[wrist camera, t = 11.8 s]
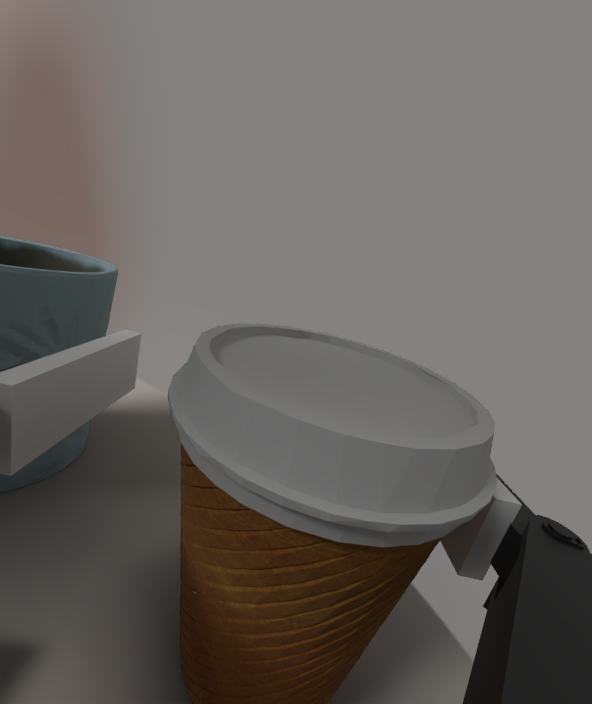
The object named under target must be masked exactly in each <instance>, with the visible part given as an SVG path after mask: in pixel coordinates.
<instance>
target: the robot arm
mask: <svg viewBox="0 0 592 704" xmlns="http://www.w3.org/2000/svg"><path fill="white" fill-rule="evenodd" d="M140 339H141V333H136V332H133V331H129V330H122V331H119V332H116V333H113V334H110V335H108V336H105V337H102V338H99V339H96V340H93V341H90V342H87V343H84V344H81V345H78V346H75V347H72V348H70V349H67V350H64V351H61V352H58V353H55V354H52V355H49V356H46V357H43V358H40V359H37V360H35V361H29V362H24V363H21V364H18V365H15V366H12V367H10V368H6V369H3V370H0V474H4V475H9V476H11V475H13V474H14V473H16V472H17V471H18V470H20V469H21V468H23V467H24V466H25V465H27V464H28V463H30V462H31V461H33V460H34V459H35V458H37V457H38V456H40V455H41V454H42V453H44V452H45V451H47V450H48V449H49V448H51V447H52V446H54V445H55V444H56V443H58V442H59V441H61V440H62V439H64V438H65V437H66V436H68V435H69V434H71V433H72V432H73V431H75V430H76V429H78V428H79V427H80V426H82V425H83V424H85V423H86V422H87V421H89V420H90V419H92V418H93V417H95V416H96V415H97V414H99V413H100V412H102V411H103V410H104V409H106V408H107V407H109V406H110V405H111V404H113V403H114V402H116V401H117V400H118V399H120V398H121V397H123V396H124V395H126V394H127V393H128V392H130V391H131V390H133V389H134V388H135V380H136V372H137V364H138V356H139V348H140ZM496 479H497V485H496V487H495V490H494V493H493V495H492V498H491V501H490V503H489V504H487V505H486V506H485V507H484V508H483V509H482V510H481V511H480V512H479V513H478V514H477V515H476V516H474V517H473V518H472V519H471V520H470V521H468V522H465V523H462V524H461V525H460V526H458V527H457V528H455V529H454V530H453V531H451V532H450V533H449V534H447V535H446V536H444V537H442V538H441V540H440V541H441V542H442V544H443V547H444V549H445V550H446V552H447V555H448V556H449V558H450V560H451V562H452V564H453V566H454V568H455V570H456V572H457V574H458V575H460V576H465V577H470V578H474V579H478V580H483V578H484V576H485V574H486V572H487V570H488V569H489V567H490V565H491V564H492V566H493V567H494V569H495V570H496V572H497V574H498V575H499V578H498V579H497V581H496V583H495V585H494V587H493V589H492V591H491V592H490V594H489V596H488V598H487V600H486V602H485V604H484V605H483V607H484V608H486V609H488V610H487V614H486V617H485V622H484V625H483V629H482V633H481V636H480V640H479V644H478V648H477V652H476V656H475V659H474V663H473V667H472V671H471V674H470V678H469V682H468V686H467V690H466V693H465V697H464V701H463V704H592V554H590V552H589V549H588V548H587V545H586V544H585V543H584V542H583V541H582V540H581V539H580V538H579V537H578V536H577V535H576V534H574V533H573V532H572V531H570V530H569V529H567V528H566V527H564V526H563V525H561V524H559V523H558V522H556V521H553V520H551V519H549V518H546V517H543V516H540V515H535V514H533V512H532V511H531V510H530V509H529V508H528V507H527V506H526V505H525V504H524V503H523V502H522V500H521V499H519V497H518V496H517V495H516V494H515V493H513V492H512V490H511V489H510V488H509V487H508V486H507V485H506V484H504V481H503V480H502V479H501V478H500V477H499V476H498V475H497V474H496Z"/></svg>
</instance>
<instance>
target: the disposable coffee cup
mask: <svg viewBox="0 0 592 704" xmlns="http://www.w3.org/2000/svg"><path fill="white" fill-rule="evenodd" d="M168 400H169V405H170V409H171V413H172V418H173V422H174V424H175V425H176V426H177V430H178V434H179V439H180V442H181V596H180V653H181V665H182V674H183V678H184V682H185V685H186V689H187V692H188V694H189V696H190V698H191V700H192V702H193V704H327V703H328V702H329V700H330V699H331V697H332V696H333V694H334V693H335V692H336V690H337V689H338V687H339V686H340V684H341V683H342V681H343V680H344V679H345V677H346V676H347V674H348V673H349V671H350V670H351V669H352V667H353V666H354V664H355V663H356V661H357V660H358V659H359V658H360V656H361V655H362V653H363V651H364V650H365V648H366V647H367V645H368V644H369V642H370V641H371V639H372V638H373V636H374V635H375V634H376V632H377V630H378V629H379V627H380V626H381V625H382V624H383V622H384V621H385V620H386V618H387V617H388V615H389V613H390V612H391V610H392V609H393V607H394V606H395V605H396V604H397V602H398V601H399V599H400V598H401V596H402V595H403V594H404V592H405V591H406V589H407V587H408V586H409V584H410V583H411V582H412V580H413V579H414V578H415V576H416V575H417V573H418V571H419V570H420V568H421V567H422V566H423V564H424V563H425V562H426V560H427V559H428V557H429V555H430V554H431V552H432V550H433V549H434V548H435V546H436V545H437V544H438V542H439V541H440V540H441V538H442V537H444V536H446V535H447V534H449V533H450V532H451V531H453V530H454V529H455V528H457V527H458V526H460V525H461V524H462V523H465V522H468V521H470V520H471V519H472V518H473V517H474V516H476V515H477V514H478V513H479V512H480V511H481V510H482V509H483V508H484V507H485V506H486V505H487V504H489V503H490V501H491V498H492V495H493V493H494V490H495V487H496V485H497V479H496V473H495V466H494V464H493V462H492V460H491V459H490V453H491V447H492V441H493V435H494V421H493V419H492V417H491V415H490V413H489V411H488V410H487V409H486V408H485V407H484V406H483V405H482V404H481V403H480V402H479V401H478V400H476V399H475V398H474V397H473V396H472V395H471V394H470V393H468V392H467V391H465V390H464V389H462V388H461V387H459V386H458V385H456V384H455V383H453V382H451V381H450V380H448V379H446V378H444V377H442V376H441V375H439V374H437V373H435V372H433V371H431V370H429V369H427V368H425V367H423V366H421V365H418V364H416V363H414V362H412V361H409V360H407V359H404V358H401V357H399V356H396V355H394V354H391V353H389V352H386V351H383V350H380V349H377V348H374V347H371V346H369V345H366V344H363V343H359V342H356V341H352V340H348V339H345V338H341V337H338V336H334V335H329V334H325V333H320V332H315V331H310V330H305V329H299V328H294V327H288V326H279V325H268V324H231V325H224V326H218V327H215V328H213V329H210V330H208V331H205V332H203V333H201V335H200V337H199V338H198V340H197V342H196V343H195V345H194V348H193V350H192V352H191V354H190V357H189V359H188V362H187V363H186V364H184V365H183V366H182V367H181V369H179V371H178V372H176V373H175V374H174V375H173V378H172V381H171V384H170V387H169V390H168Z"/></svg>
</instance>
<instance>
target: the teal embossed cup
mask: <svg viewBox="0 0 592 704" xmlns="http://www.w3.org/2000/svg"><path fill="white" fill-rule="evenodd" d="M117 275H118V269H117V268H116V267H115V266H114V265H112V264H110V263H108V262H105V261H102V260H100V259H97V258H94V257H90V256H87V255H84V254H80V253H77V252H73V251H69V250H65V249H61V248H56V247H53V246H48V245H44V244H39V243H34V242H29V241H25V240H20V239H15V238H10V237H5V236H0V370H3V369H6V368H10V367H12V366H15V365H18V364H21V363H24V362H29V361H35V360H37V359H40V358H43V357H46V356H49V355H52V354H55V353H58V352H61V351H64V350H67V349H70V348H72V347H75V346H78V345H81V344H84V343H87V342H90V341H93V340H96V339H99V338H102V337H105V336H106V330H107V327H108V323H109V317H110V312H111V306H112V300H113V296H114V290H115V286H116V281H117ZM90 423H91V419H90V420H89V421H87V422H86V423H85V424H83V425H82V426H80V427H79V428H78V429H76V430H75V431H73V432H72V433H71V434H69V435H68V436H66V437H65V438H64V439H62V440H61V441H59V442H58V443H56V444H55V445H54V446H52V447H51V448H49V449H48V450H47V451H45V452H44V453H42V454H41V455H40V456H38V457H37V458H35V459H34V460H33V461H31V462H30V463H28V464H27V465H25V466H24V467H23V468H21V469H20V470H18V471H17V472H16V473H14V474H13V475H11V476H9V475H4V474H0V492H6V491H9V490H13V489H17V488H20V487H24V486H27V485H30V484H33V483H35V482H38V481H41V480H43V479H45V478H48V477H50V476H51V475H53V474H55V473H57V472H59V471H61V470H62V469H64V468H65V467H67V466H68V465H70V464H71V463H72V462H73V461H74V460H75V459H76V458H77V457H78V456H79V455H80V454H81V453H82V452H83V450H84V448H85V445H86V442H87V439H88V434H89V429H90Z"/></svg>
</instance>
